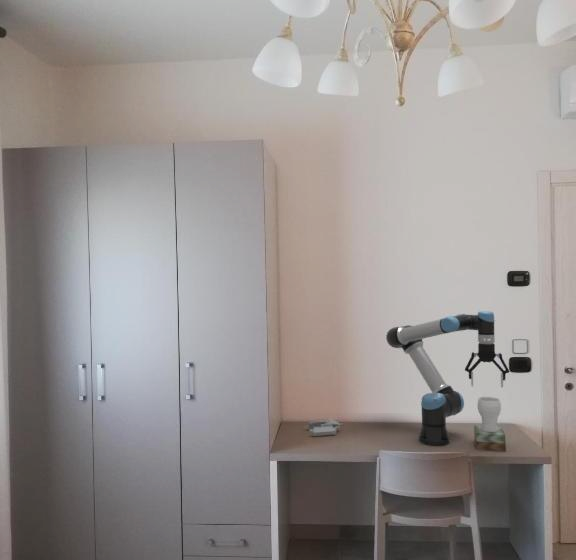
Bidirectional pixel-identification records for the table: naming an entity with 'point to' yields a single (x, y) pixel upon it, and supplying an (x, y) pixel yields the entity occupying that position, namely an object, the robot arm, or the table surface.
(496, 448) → the tower base
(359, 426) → the table surface
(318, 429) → the spaceship toy
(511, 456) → the table surface
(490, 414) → the cup
